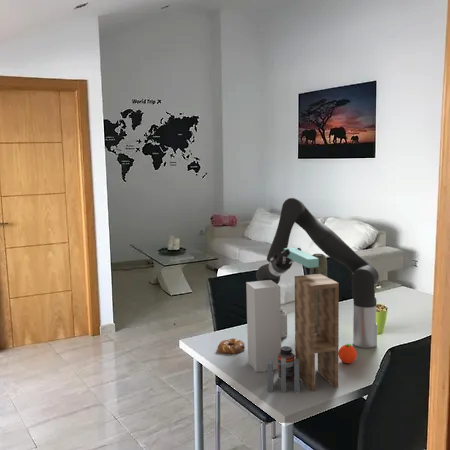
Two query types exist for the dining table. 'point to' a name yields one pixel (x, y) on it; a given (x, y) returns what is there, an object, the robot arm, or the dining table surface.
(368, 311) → the robot arm
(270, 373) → the domino
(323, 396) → the dining table surface
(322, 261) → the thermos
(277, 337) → the block
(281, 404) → the dining table surface
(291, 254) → the block
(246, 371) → the dining table surface
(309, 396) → the dining table surface
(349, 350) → the clementine
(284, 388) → the domino
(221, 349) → the braided bread ring
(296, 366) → the domino
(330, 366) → the stand
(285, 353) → the supplement bottle
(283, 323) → the can
